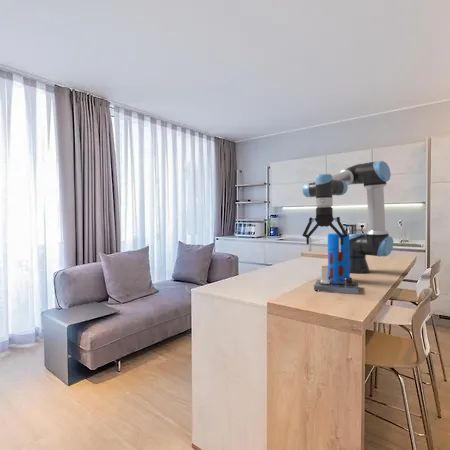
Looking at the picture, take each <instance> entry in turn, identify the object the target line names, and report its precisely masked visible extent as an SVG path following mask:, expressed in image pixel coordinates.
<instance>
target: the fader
mask: <svg viewBox="0 0 450 450" xmlns="http://www.w3.org/2000/svg"><path fill="white" fill-rule="evenodd" d="M328 266H329V265H328V264H322V265H321V279H320V280H321V281H320V283H322V284H329V283H330V280H329V279H328Z"/></svg>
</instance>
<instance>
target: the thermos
mask: <svg viewBox="0 0 450 450" xmlns="http://www.w3.org/2000/svg"><path fill="white" fill-rule="evenodd" d="M340 233H341V232H340ZM341 234H342V235H344V234H343V232H342V233H341ZM349 235H350V233H347V237H344V238H343V245H341V252H339V238H340V236H339V235H338V234H337V233H336V232H335V233H328V234H327V265H329V266H328V276H330V280H333V281H344V277H351V276H350V274H351V273H350V251H349Z"/></svg>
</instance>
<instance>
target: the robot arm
mask: <svg viewBox="0 0 450 450" xmlns="http://www.w3.org/2000/svg"><path fill="white" fill-rule="evenodd" d="M391 175H392V174H391V168H390V167H389V165H388V163H387V162H385V161H384V160H379V161H377V160H376V161H372V162H370V161H369V162H365V163H364V162H363V163H358V164H355V165H352V166H349V167H347V168H344V169H342V170H340V171H339V173H338V172H337V173H336V174H333V175H332V174H331V173H322V174H321V173H320V174H318V175H316V176H315V181H314V182H307V183H305V184H304V185H303V186H302V194H303V196H304V197H306V198H315V207H316V208H315V217H309V218H308V222H307V225H306V227H305V230H304V231H303V233H302V237H304V238H305V239H306V245H308V252H312V237H311V236H312V235H313V234H314V232H316V230H317V229H318V228H319V227H327V228H328V227H329V226H330V227H331V229H332V230H333V231H334V232H335V233H337V234H338V235H339V236H340V238H339V252H341V245H343V238H344V237H347V234H348V233H347V231H346V230H345V227H344V226H343V224H342V222H341V217H340V216H337V217H334V213H333V196H337V197H338V196H343V195H345V194H346V193H347V191H348V189H349V188H348V186H350V185H362V184H363V187H364V188H365V189H366V201H367V220H368V221H367V222H368V224H367V225H368V231H367V232H366V233H365V232H362V233H361V232H360V233H353V234H349V251H350V272H352V273H351V274H365V273H369V272H370V267H369V264H368V261H367V259H366V257H367V256H373V257H374V256H375V257H388V256H389V255H390V254H392V251H393V249H394V239H393V237H392V236H390V235H389V233H390V232H388V231H387V230H386V215H385V191H384V190H385V189H384V188H385V187H386V186H387V182H388V181H390V179H391ZM314 221H315V222H316V224H315V225H314V226H313V228H312V229H311V230H310V228H311V225H312V224H313V223H314ZM333 221H334V222H336V223H337V225H338V227H339V228H340V230H341V232H342V233H343V234H344V235H342V234H341V232H340V231H339V230H338V228H337V227H336V226H335V225H334V224H333ZM309 230H310V231H309Z"/></svg>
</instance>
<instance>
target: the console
mask: <svg viewBox="0 0 450 450" xmlns="http://www.w3.org/2000/svg"><path fill="white" fill-rule="evenodd" d="M328 279H329V280H330V276H328ZM321 280H322V279H317V280H316V282H315V283H314V285H313V291H314V290H319V291H318V292H321V291H328V292H327V293H335V292H338V294H350V295H351V294H352V295H359V282H358V281H353V277H351V276H350V277H344V281H333V280H330V283H329V284H322V283H320V281H321Z"/></svg>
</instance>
